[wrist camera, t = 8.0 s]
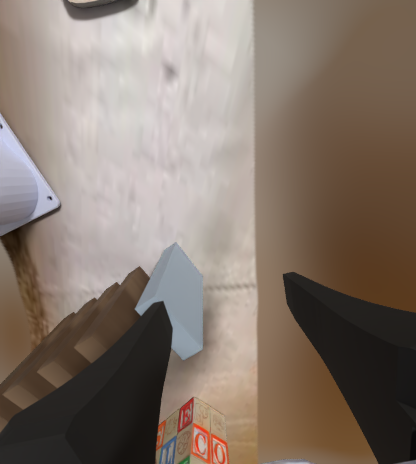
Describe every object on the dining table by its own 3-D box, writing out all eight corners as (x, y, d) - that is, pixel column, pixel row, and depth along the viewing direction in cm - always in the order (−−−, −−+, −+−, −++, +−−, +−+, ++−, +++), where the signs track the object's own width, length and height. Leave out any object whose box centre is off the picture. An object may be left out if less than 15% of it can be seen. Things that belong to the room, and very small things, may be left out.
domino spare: (191, 283, 23) (183, 360, 13) (164, 250, 22) (134, 309, 12) (202, 275, 23) (202, 349, 13) (176, 242, 22) (155, 295, 12)
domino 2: (113, 332, 25) (56, 433, 15) (84, 304, 23) (2, 394, 14) (123, 326, 24) (72, 424, 15) (94, 297, 23) (18, 384, 14)
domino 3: (134, 318, 24) (89, 414, 14) (106, 289, 23) (36, 371, 13) (145, 312, 24) (106, 404, 14) (116, 282, 23) (53, 360, 13)
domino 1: (93, 345, 25) (25, 451, 15) (63, 318, 24) (-30, 415, 14) (102, 339, 25) (39, 443, 15) (73, 311, 24) (-16, 405, 14)
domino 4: (156, 304, 24) (125, 393, 14) (128, 273, 22) (73, 347, 13) (167, 297, 23) (143, 382, 14) (139, 266, 22) (92, 335, 13)
